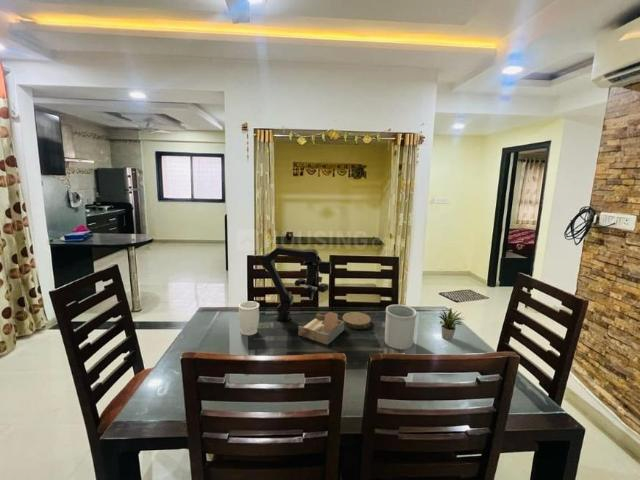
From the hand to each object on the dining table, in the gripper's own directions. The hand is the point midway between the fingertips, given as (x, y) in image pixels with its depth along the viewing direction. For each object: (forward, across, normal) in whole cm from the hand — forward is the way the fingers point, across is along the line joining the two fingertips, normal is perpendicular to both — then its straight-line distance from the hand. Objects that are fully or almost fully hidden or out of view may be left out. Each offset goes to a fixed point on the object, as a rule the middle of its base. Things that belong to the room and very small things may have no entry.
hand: (310, 299), depth 187 cm
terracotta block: (+10, -17, +7) cm, 21 cm away
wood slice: (+14, -22, -14) cm, 29 cm away
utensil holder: (+13, -49, -5) cm, 51 cm away
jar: (+13, +20, +28) cm, 37 cm away
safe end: (+13, -16, +8) cm, 22 cm away
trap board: (+13, -8, +7) cm, 17 cm away
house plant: (+13, -69, -23) cm, 74 cm away
